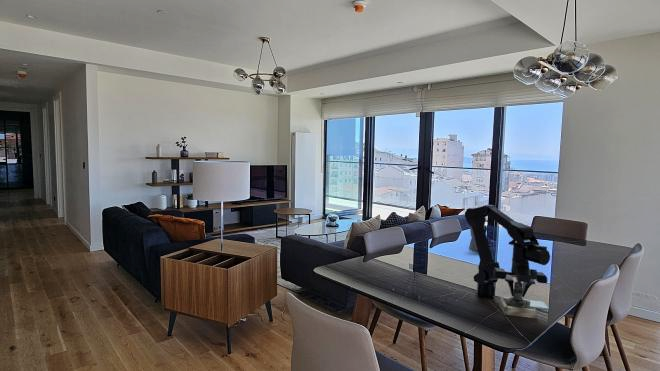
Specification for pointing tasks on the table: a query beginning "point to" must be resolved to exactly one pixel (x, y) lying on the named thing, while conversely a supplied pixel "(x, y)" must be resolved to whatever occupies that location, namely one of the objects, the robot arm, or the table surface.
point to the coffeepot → (473, 242)
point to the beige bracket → (516, 308)
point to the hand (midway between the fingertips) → (517, 296)
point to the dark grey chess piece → (517, 296)
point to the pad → (538, 305)
